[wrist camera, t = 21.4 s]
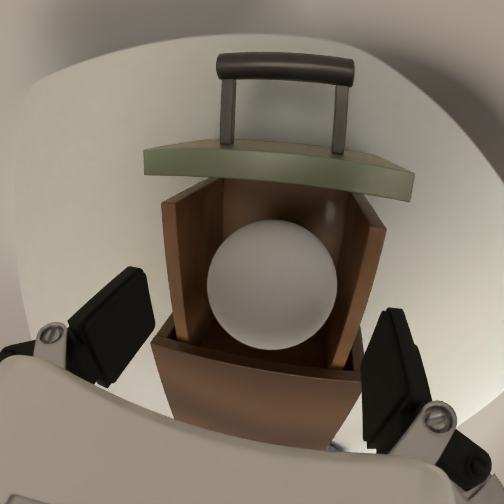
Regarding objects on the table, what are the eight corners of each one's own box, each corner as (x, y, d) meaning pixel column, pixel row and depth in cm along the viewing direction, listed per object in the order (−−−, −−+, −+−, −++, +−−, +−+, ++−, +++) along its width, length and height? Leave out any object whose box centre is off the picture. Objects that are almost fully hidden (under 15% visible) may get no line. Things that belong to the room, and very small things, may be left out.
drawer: (211, 73, 16) (146, 47, 9) (378, 85, 14) (422, 56, 7) (211, 298, 24) (171, 365, 17) (340, 318, 22) (343, 397, 15)
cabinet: (207, 265, 24) (149, 342, 15) (353, 285, 22) (367, 382, 13) (213, 372, 30) (183, 442, 21) (319, 390, 28) (312, 468, 19)
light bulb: (311, 280, 20) (301, 390, 11) (236, 252, 20) (178, 346, 11) (343, 207, 17) (370, 291, 8) (259, 176, 18) (200, 228, 9)
